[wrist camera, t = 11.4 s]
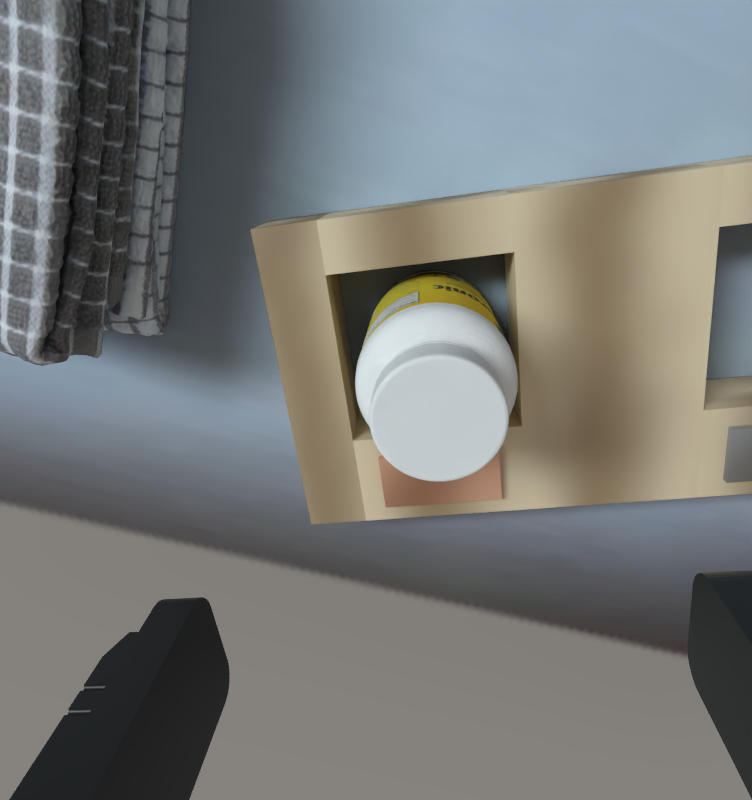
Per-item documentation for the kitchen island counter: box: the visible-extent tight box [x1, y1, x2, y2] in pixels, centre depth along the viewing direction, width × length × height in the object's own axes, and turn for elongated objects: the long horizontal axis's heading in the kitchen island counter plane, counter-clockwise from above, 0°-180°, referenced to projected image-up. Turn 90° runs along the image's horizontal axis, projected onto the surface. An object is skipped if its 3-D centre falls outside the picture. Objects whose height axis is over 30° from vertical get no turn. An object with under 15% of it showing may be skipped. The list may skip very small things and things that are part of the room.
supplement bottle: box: [355, 271, 518, 482], centre depth 21 cm, size 5×5×10 cm
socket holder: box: [250, 156, 752, 524], centre depth 23 cm, size 26×13×3 cm, turn 98°
